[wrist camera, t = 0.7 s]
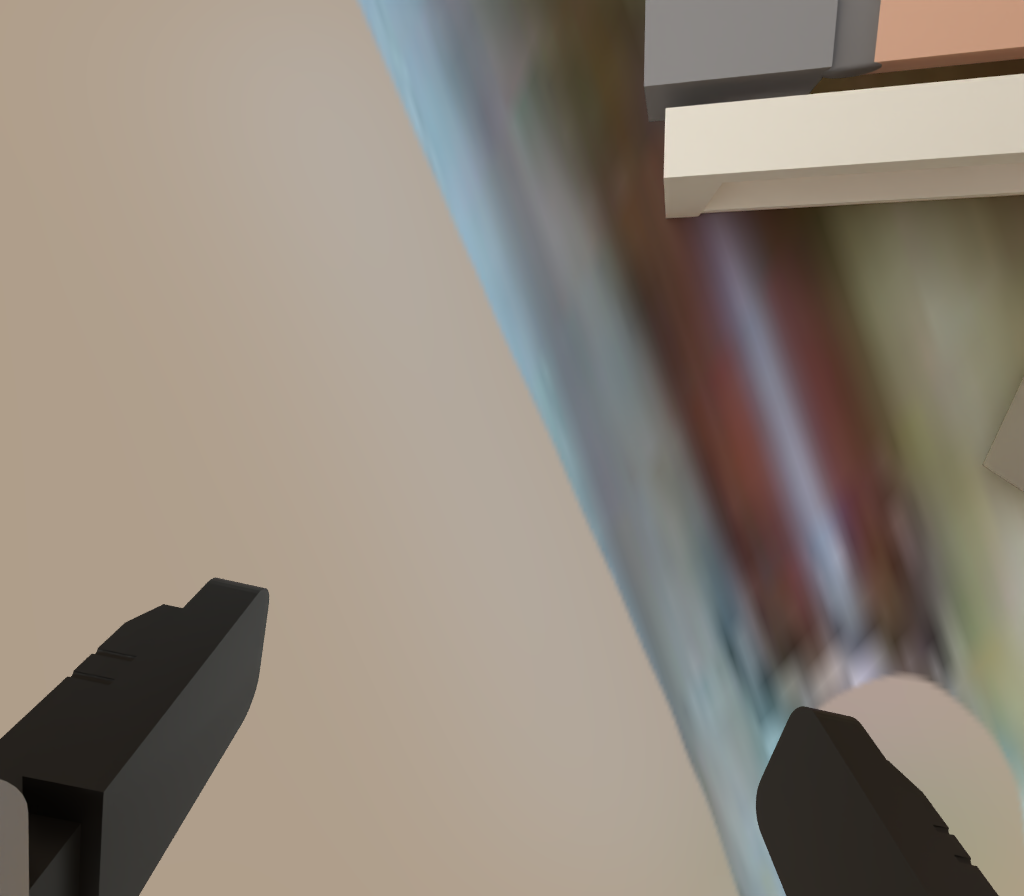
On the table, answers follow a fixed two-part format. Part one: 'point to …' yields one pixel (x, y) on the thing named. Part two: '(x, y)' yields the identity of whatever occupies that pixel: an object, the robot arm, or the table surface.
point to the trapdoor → (811, 44)
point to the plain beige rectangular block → (1010, 444)
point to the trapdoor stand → (847, 147)
